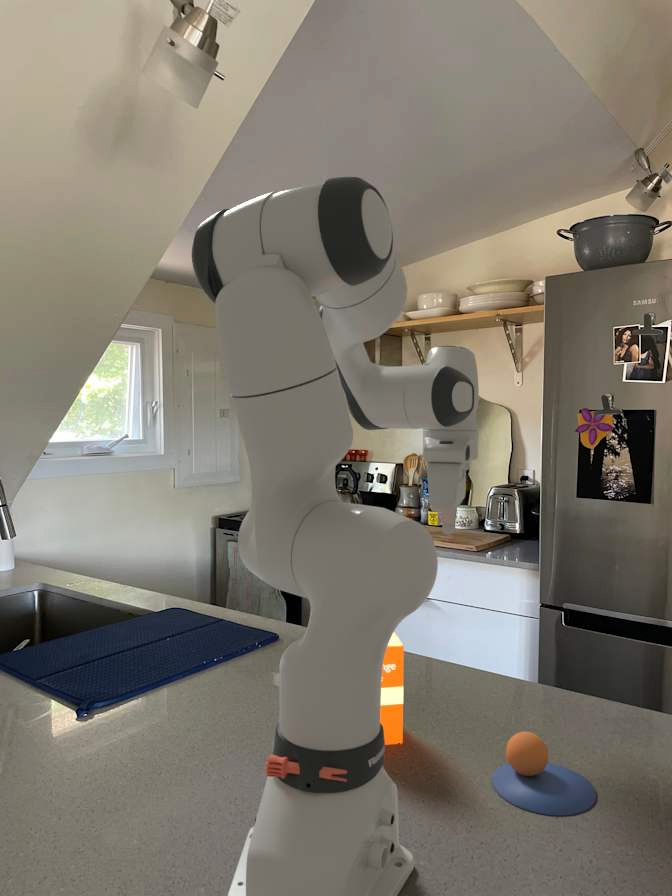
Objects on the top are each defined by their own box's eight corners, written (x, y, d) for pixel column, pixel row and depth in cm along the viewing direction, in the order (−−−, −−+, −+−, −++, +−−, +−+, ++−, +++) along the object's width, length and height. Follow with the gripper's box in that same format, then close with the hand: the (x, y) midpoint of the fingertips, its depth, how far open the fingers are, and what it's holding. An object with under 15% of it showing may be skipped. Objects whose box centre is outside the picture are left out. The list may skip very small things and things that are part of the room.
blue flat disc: (600, 823, 83) (600, 821, 83) (489, 805, 86) (489, 804, 86) (591, 769, 95) (591, 768, 95) (494, 756, 99) (494, 755, 99)
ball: (536, 753, 90) (554, 731, 94) (497, 738, 93) (517, 718, 97) (537, 790, 91) (555, 768, 95) (499, 775, 95) (518, 753, 98)
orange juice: (352, 748, 101) (353, 612, 100) (339, 721, 110) (340, 596, 109) (404, 743, 103) (405, 609, 102) (387, 717, 111) (388, 594, 110)
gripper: (438, 445, 124) (437, 522, 125) (421, 450, 104) (420, 542, 105) (474, 445, 122) (473, 524, 123) (464, 451, 102) (462, 545, 103)
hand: (448, 533), depth 114 cm, fingers closed
